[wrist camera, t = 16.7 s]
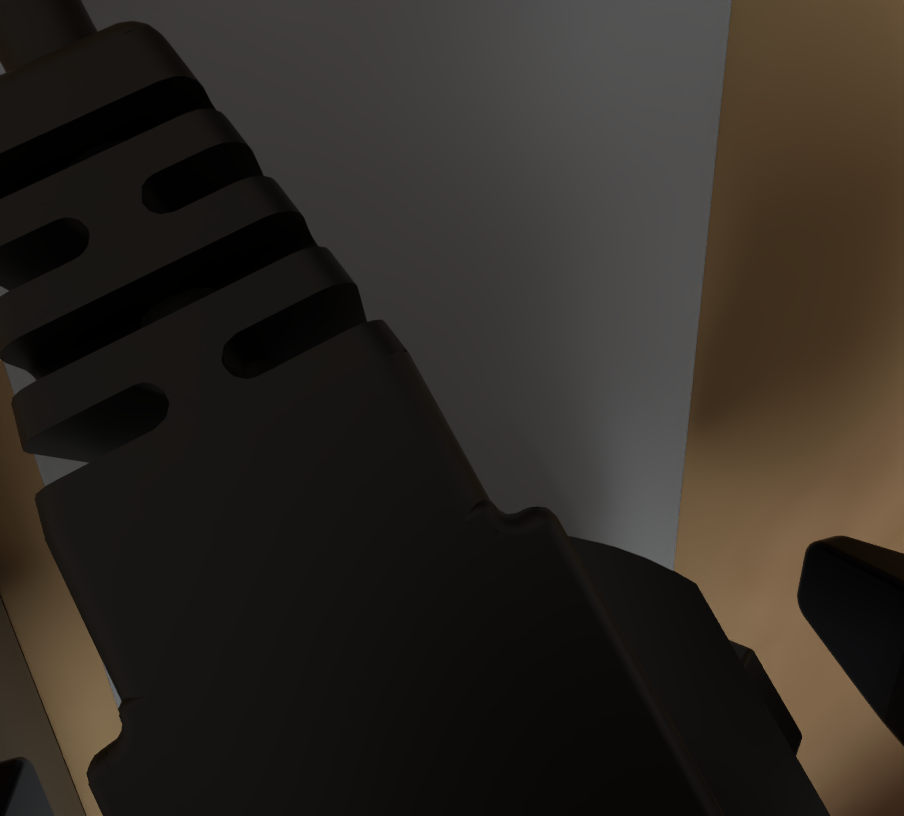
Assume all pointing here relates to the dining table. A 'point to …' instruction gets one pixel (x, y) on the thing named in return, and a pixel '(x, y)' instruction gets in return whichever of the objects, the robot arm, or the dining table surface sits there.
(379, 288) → the mat
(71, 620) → the dining table surface
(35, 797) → the robot arm
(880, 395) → the dining table surface
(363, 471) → the power plug
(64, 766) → the case
